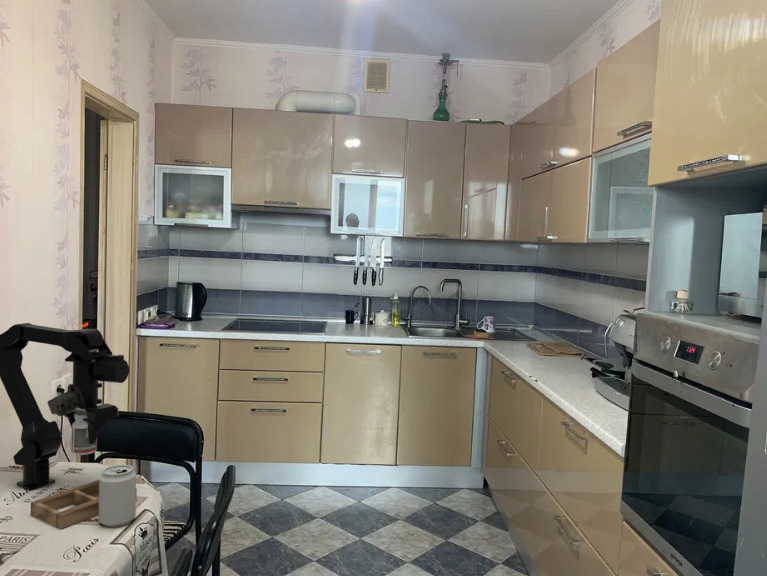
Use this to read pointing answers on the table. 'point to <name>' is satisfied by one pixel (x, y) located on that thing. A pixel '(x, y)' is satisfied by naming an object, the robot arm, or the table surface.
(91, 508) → the wooden divided tray
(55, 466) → the table surface
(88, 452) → the pill bottle
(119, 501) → the can
